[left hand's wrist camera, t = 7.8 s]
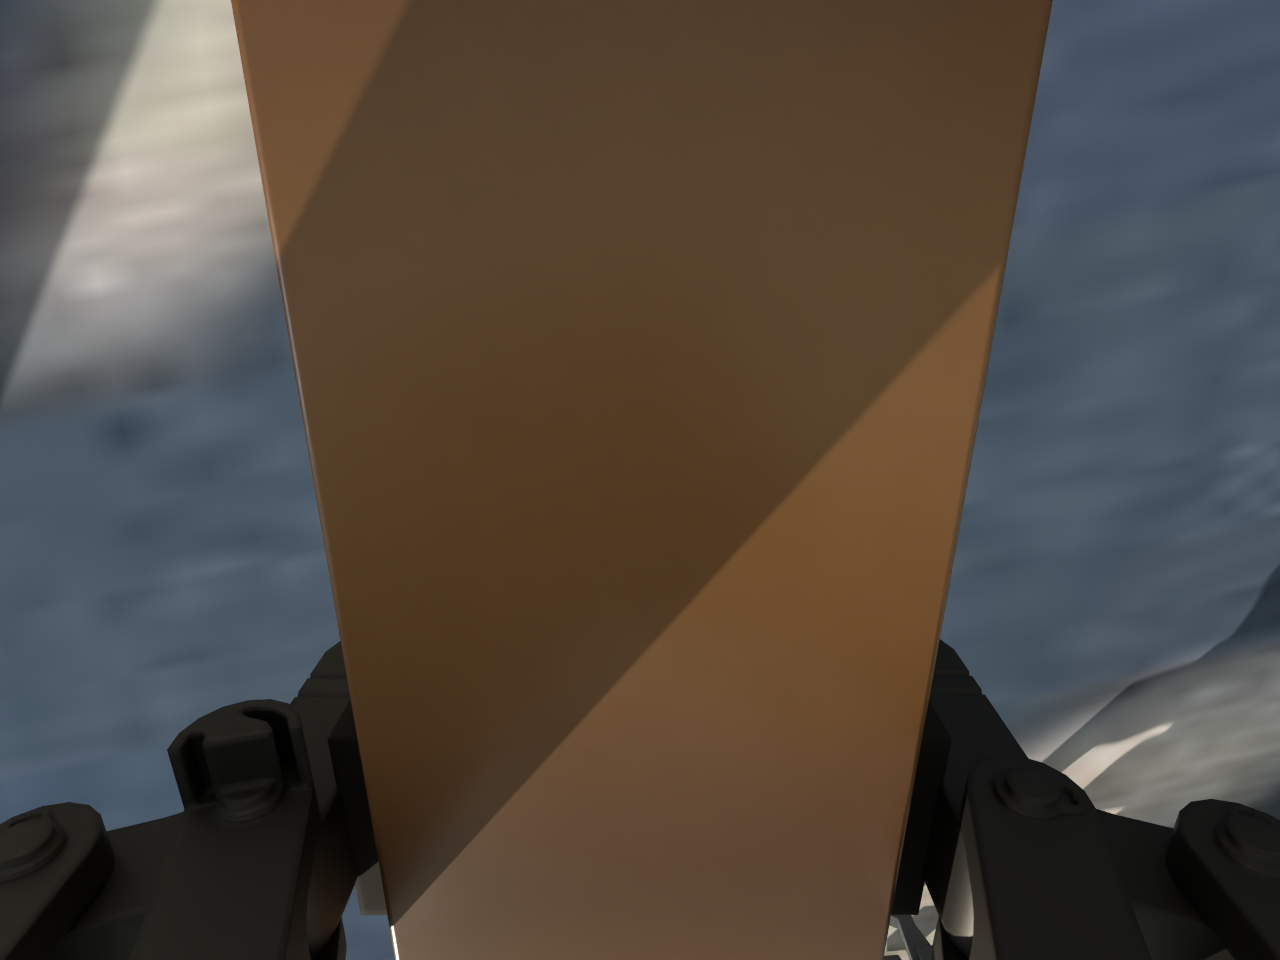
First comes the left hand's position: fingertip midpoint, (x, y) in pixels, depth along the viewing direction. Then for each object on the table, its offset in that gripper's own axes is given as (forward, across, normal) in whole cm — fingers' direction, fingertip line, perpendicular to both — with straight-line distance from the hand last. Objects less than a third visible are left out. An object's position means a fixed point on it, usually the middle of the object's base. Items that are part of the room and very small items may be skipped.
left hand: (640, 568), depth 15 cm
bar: (+1, 0, -10) cm, 10 cm away
